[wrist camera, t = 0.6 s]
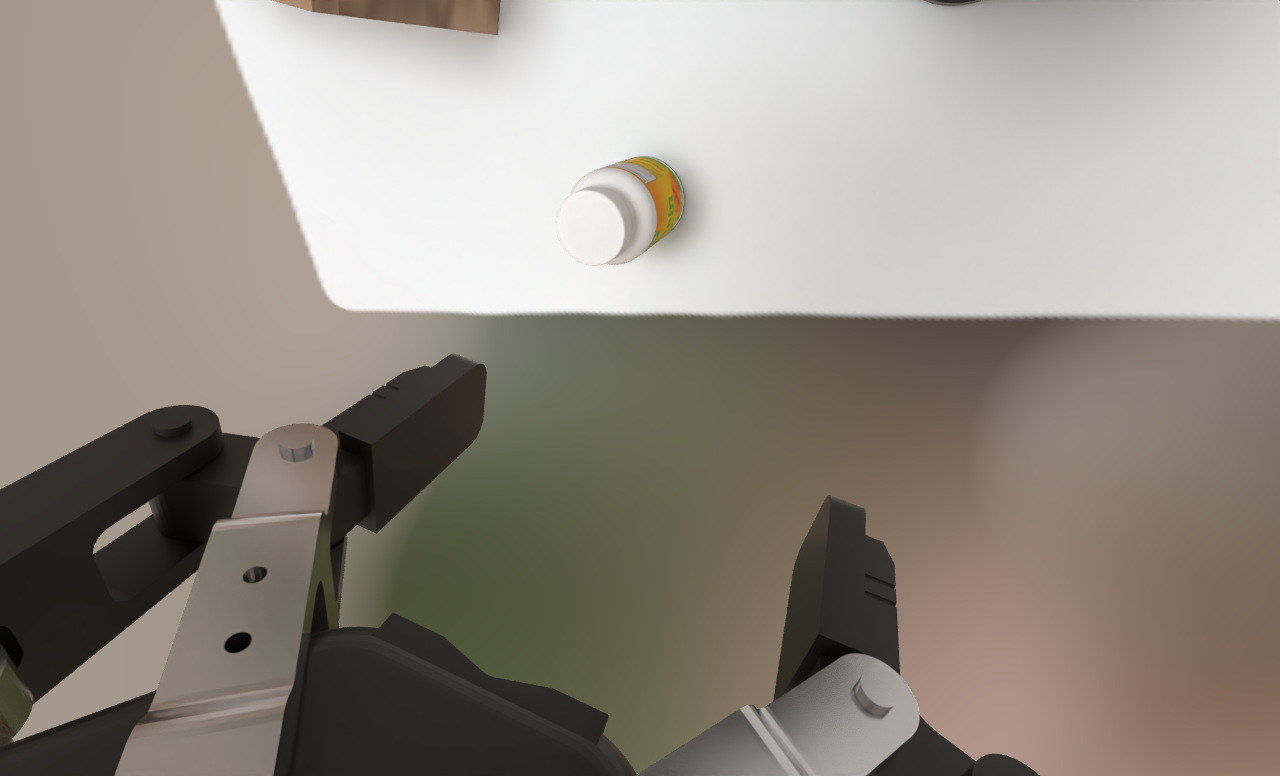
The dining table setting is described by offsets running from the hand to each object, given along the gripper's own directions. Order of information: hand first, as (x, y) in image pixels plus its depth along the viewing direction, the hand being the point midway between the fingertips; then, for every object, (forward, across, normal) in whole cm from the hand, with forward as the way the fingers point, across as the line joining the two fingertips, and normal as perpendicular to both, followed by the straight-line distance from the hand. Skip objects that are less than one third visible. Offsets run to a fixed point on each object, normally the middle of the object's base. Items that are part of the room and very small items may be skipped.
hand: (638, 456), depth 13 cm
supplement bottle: (+28, +9, +2) cm, 30 cm away
